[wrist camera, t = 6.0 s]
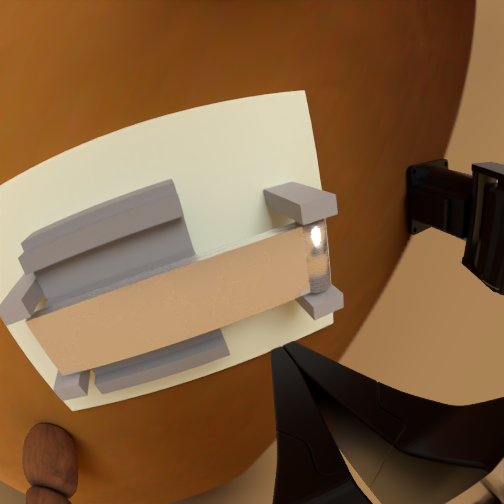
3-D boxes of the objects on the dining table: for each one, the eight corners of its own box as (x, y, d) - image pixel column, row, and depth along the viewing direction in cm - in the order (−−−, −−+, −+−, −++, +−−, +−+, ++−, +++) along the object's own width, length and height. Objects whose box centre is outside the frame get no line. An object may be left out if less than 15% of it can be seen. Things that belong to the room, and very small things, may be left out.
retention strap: (314, 213, 16) (330, 220, 14) (321, 274, 17) (336, 285, 16) (31, 309, 12) (23, 325, 10) (66, 362, 13) (61, 380, 12)
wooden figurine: (79, 453, 21) (89, 567, 8) (33, 440, 18) (30, 552, 5) (78, 423, 19) (84, 563, 6) (25, 407, 17) (11, 542, 4)
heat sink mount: (296, 92, 16) (350, 79, 11) (327, 316, 24) (365, 354, 19) (-37, 211, 11) (-83, 237, 6) (73, 402, 19) (68, 453, 14)
